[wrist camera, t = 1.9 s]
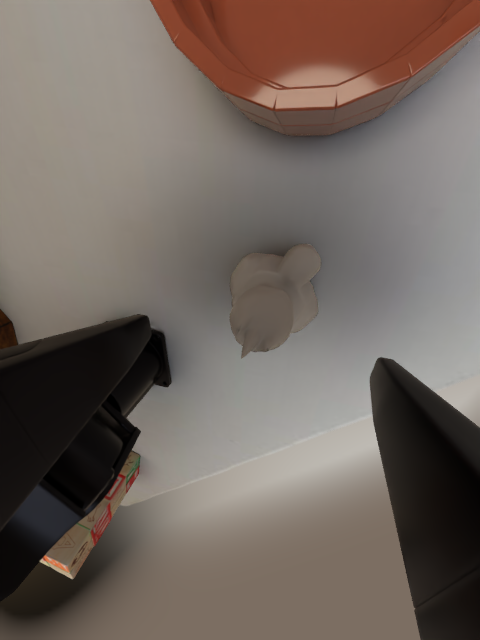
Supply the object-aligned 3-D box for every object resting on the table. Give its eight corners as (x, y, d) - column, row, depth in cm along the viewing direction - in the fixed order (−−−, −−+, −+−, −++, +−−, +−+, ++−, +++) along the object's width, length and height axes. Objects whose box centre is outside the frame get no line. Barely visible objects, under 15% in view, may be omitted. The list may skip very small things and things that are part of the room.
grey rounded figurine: (224, 290, 17) (166, 353, 11) (279, 209, 14) (243, 228, 7) (282, 333, 18) (260, 420, 11) (350, 265, 14) (379, 333, 8)
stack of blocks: (27, 418, 39) (-75, 500, 29) (19, 395, 36) (-101, 478, 26) (139, 474, 37) (72, 582, 27) (141, 455, 34) (65, 570, 24)
